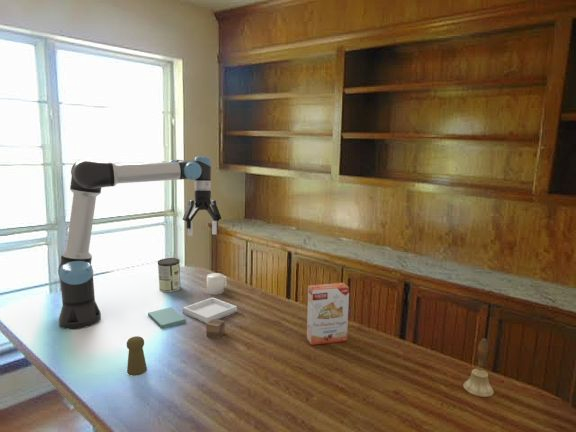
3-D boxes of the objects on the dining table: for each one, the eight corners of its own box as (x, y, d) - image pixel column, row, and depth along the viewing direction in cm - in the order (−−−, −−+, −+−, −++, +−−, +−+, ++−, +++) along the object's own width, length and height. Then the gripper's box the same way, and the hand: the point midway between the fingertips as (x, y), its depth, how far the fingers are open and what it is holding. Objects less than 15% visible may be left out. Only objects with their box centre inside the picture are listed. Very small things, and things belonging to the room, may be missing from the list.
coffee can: (163, 284, 216) (162, 257, 214) (183, 285, 215) (182, 258, 213) (155, 291, 206) (154, 263, 204) (176, 292, 205) (175, 264, 203)
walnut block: (218, 338, 158) (218, 326, 158) (206, 336, 160) (206, 324, 159) (225, 333, 163) (224, 320, 162) (213, 331, 165) (213, 318, 164)
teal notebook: (161, 330, 166) (161, 325, 166) (148, 317, 178) (147, 312, 178) (185, 323, 172) (185, 318, 172) (171, 311, 184) (171, 307, 184)
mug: (214, 295, 201) (214, 279, 200) (203, 291, 207) (203, 275, 205) (230, 290, 209) (229, 274, 207) (219, 286, 214) (218, 271, 212)
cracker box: (311, 346, 153) (312, 290, 149) (306, 338, 159) (307, 284, 155) (348, 341, 157) (349, 286, 153) (341, 334, 162) (343, 281, 159)
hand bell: (485, 381, 132) (489, 332, 129) (499, 397, 124) (504, 345, 121) (458, 381, 131) (462, 332, 129) (470, 397, 123) (475, 345, 120)
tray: (207, 323, 171) (207, 317, 170) (183, 313, 181) (182, 307, 181) (237, 311, 183) (236, 306, 182) (212, 302, 193) (212, 297, 193)
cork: (140, 363, 140) (138, 332, 138) (150, 370, 137) (149, 337, 135) (123, 371, 136) (121, 338, 134) (133, 378, 132) (131, 344, 130)
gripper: (184, 189, 191) (184, 237, 191) (228, 190, 209) (228, 234, 209) (175, 189, 196) (175, 235, 197) (219, 190, 214) (219, 233, 215)
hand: (202, 235), depth 203 cm, fingers open, 13 cm apart
